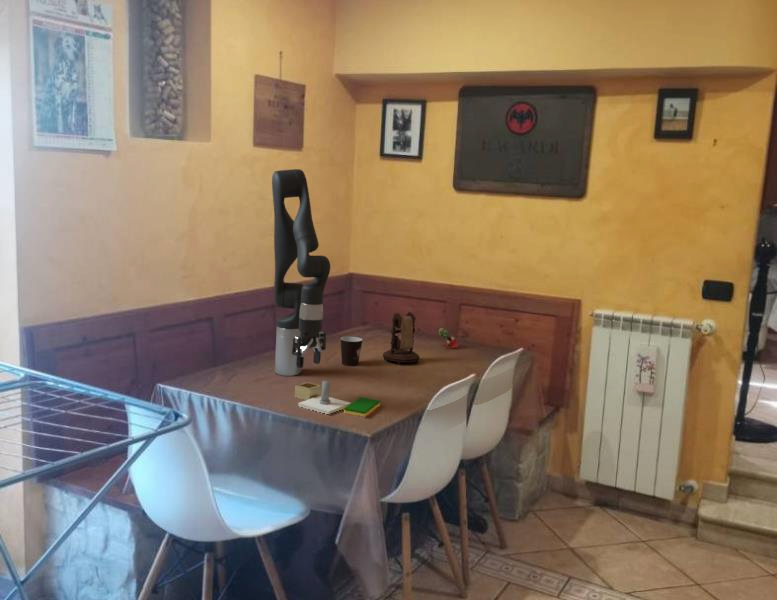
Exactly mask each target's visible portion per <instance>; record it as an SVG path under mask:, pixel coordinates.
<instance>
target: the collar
mask: <svg viewBox="0 0 777 600" xmlns="http://www.w3.org/2000/svg"><path fill="white" fill-rule="evenodd" d="M294 386H295V387H294V398H296V397H297V398H296V399H299V398H300V400H303V399H304V401H305V400H308V399H311V398H314V397H317V396H320V395H322V384H321V385H320V384H317V383H313V382H311V381H310V382H309V381H306V382H301V383H299V384H295V385H294Z"/></svg>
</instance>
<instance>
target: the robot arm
mask: <svg viewBox="0 0 777 600" xmlns="http://www.w3.org/2000/svg"><path fill="white" fill-rule="evenodd" d="M271 177H272V178H271V189H272V202H273V212H274V213H273V215H274V216H273V217H274V219H273V220H274V221H273V222H274V224H273V225H274V226H273V227H274V232H273V244H274V245H273V247H274V285H273V286H274V287H273V302H274V306H276V308H279V309H293V312H292V313H290V314H287V315H282V316H280V317H278V318H277V319H276V336H275V338H276V340H275V358H274V361H275V362H274V373H275V374H276V375H279V376H288V377H289V376H290V377H292V376H297V375H300V373H301V372H302V371H303V368H304V364H305V363H304V362H305V361H304V359H305V353H306V352H308V351H309V350H310V349H313V351H314V352H313V363H314V364H316V365H319V364H321V353H322V352H323V351H326V348H327V347H326V346H327V345H326V340H327V333H326V331H325V332H324V331H323V320H324V319H323V316H324V307H323V303H324V290H325V288H326V284H327V281H328V278H329V275H330V273H331V262H330V260H329V258H328V257H327V256H326V255H310V254H311V253H313V252H315V251H317V250H318V248H319V246H320V245H319V244H320V243H319V240H318V236H317V233H316V229H315V225H314V221H313V216H312V215H313V214H312V206H311V201H310V192H309V186H308V181H307V178H306V174H305V172H304V171H303V170H302V169H300V168H299V169H297V168H295V169H281V170H275V171H274V172H273V173H272V176H271ZM289 198H298V199H299V206H298V207H299V208H298V211H297V214H296V216H295V217H294V220H293V218H292V217H291V215H290V213H289V212H288V210H287V208H286V204H285V199H289ZM295 261H297V262H296V269H297V271H298V274H299V275H300V276H301V277H303V278H313V280H312V282H310V283H308V284H307V283H306V284H303V283H297V282H285V277H286V274H287V272H288V271H289V269H290V268H291V266H292V265H293V264H294V263H295Z"/></svg>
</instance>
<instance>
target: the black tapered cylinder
mask: <svg viewBox="0 0 777 600" xmlns="http://www.w3.org/2000/svg"><path fill="white" fill-rule="evenodd" d="M363 341H364V340H363V338H361V337H357V336H342V337H340V355H341V365H343V366H346V367H357V366H359V363H360V362H359V361H360V358H361V357H360V356H361V350H362V345H363Z"/></svg>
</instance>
